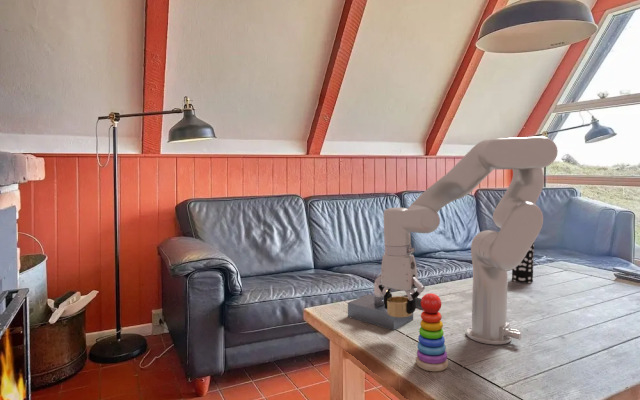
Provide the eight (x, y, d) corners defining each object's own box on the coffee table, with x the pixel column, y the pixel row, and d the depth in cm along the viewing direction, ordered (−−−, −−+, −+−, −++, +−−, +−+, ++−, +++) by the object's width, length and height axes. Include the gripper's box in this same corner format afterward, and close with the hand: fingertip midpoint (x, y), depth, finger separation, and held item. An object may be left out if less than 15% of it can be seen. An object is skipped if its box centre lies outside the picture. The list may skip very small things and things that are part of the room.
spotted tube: (507, 279, 193) (508, 234, 191) (522, 277, 195) (524, 233, 194) (521, 283, 185) (523, 237, 183) (537, 282, 187) (538, 236, 186)
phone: (407, 294, 168) (439, 304, 156) (407, 297, 169) (439, 307, 157) (393, 298, 164) (424, 308, 152) (393, 301, 164) (424, 311, 152)
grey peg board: (413, 319, 143) (413, 284, 142) (393, 330, 134) (394, 292, 133) (368, 308, 155) (368, 275, 154) (347, 317, 146) (347, 282, 145)
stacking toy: (424, 355, 116) (425, 287, 114) (453, 364, 111) (454, 292, 109) (410, 366, 110) (410, 294, 108) (440, 376, 105) (441, 300, 103)
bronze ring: (416, 311, 127) (415, 298, 127) (404, 318, 122) (403, 305, 122) (395, 307, 132) (395, 294, 132) (383, 314, 127) (382, 300, 126)
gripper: (431, 250, 123) (432, 312, 124) (379, 245, 134) (381, 301, 136) (418, 255, 117) (419, 319, 118) (365, 249, 129) (367, 308, 130)
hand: (399, 309), depth 127 cm, fingers closed on bronze ring, 7 cm apart
